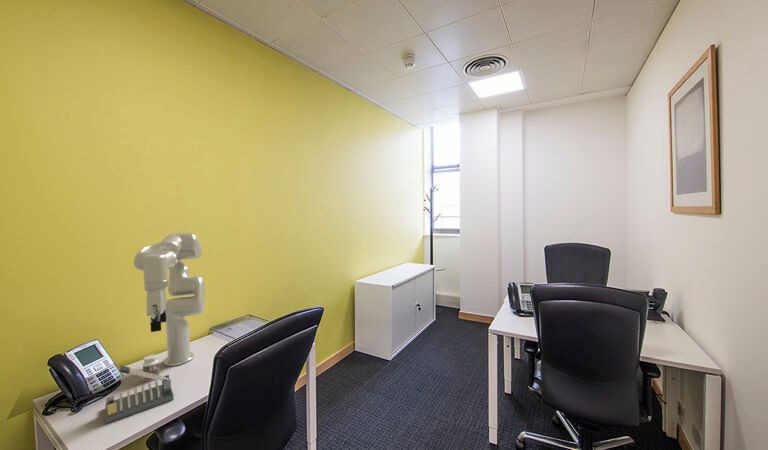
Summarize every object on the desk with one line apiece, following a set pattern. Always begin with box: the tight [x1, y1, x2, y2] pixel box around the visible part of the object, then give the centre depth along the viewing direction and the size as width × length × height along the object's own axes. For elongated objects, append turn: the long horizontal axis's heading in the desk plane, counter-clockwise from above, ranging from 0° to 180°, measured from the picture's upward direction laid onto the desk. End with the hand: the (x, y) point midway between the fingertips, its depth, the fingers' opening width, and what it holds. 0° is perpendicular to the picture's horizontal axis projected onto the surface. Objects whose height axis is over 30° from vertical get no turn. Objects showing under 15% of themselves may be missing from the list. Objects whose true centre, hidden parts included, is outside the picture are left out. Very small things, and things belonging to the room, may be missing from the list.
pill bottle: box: [142, 353, 160, 382], centre depth 135 cm, size 6×6×10 cm
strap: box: [118, 365, 170, 382], centre depth 118 cm, size 18×4×1 cm
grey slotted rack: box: [104, 374, 174, 425], centre depth 117 cm, size 12×20×7 cm, turn 132°
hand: (159, 326), depth 121 cm, fingers open, 9 cm apart
